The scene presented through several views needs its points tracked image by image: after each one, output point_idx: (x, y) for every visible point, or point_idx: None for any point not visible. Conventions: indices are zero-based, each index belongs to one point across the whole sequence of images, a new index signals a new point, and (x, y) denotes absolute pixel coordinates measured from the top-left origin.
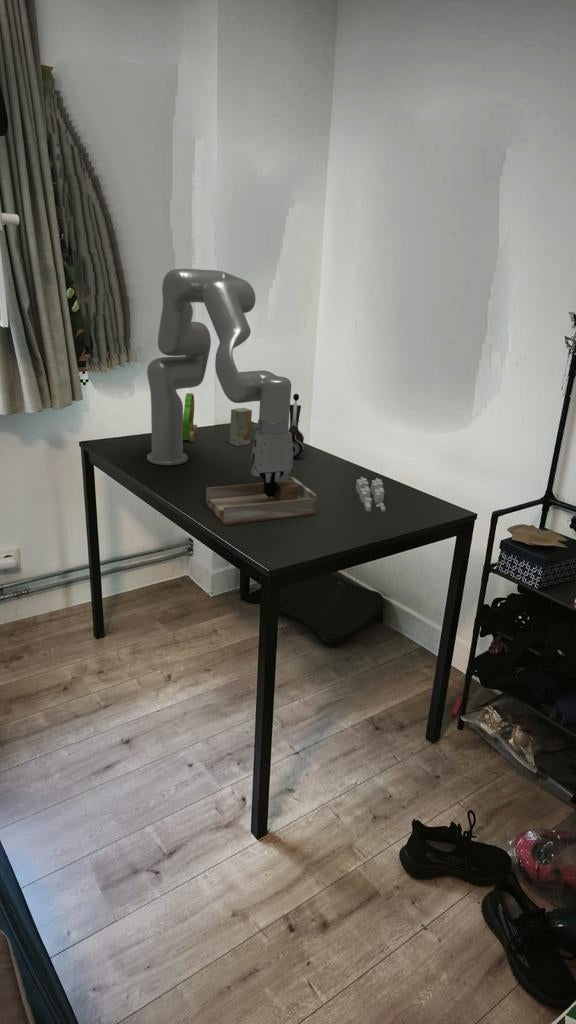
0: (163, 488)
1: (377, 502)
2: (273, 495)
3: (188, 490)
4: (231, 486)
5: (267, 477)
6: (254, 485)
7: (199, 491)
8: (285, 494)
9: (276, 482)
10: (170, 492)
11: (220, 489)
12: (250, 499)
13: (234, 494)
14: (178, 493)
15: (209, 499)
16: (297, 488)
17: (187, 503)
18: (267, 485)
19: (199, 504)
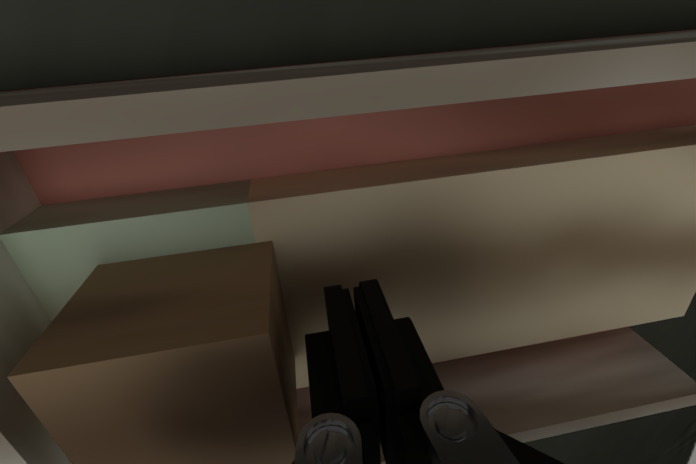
0: (656, 452)
1: None
2: (337, 290)
3: (592, 443)
4: (562, 423)
5: (491, 461)
6: None
7: (561, 438)
8: (219, 286)
9: (316, 418)
10: (659, 425)
11: (619, 397)
12: (473, 303)
13: (510, 380)
14: (641, 419)
15: (632, 342)
16: (45, 351)
17: (679, 337)
18: (420, 373)
19: (644, 326)
